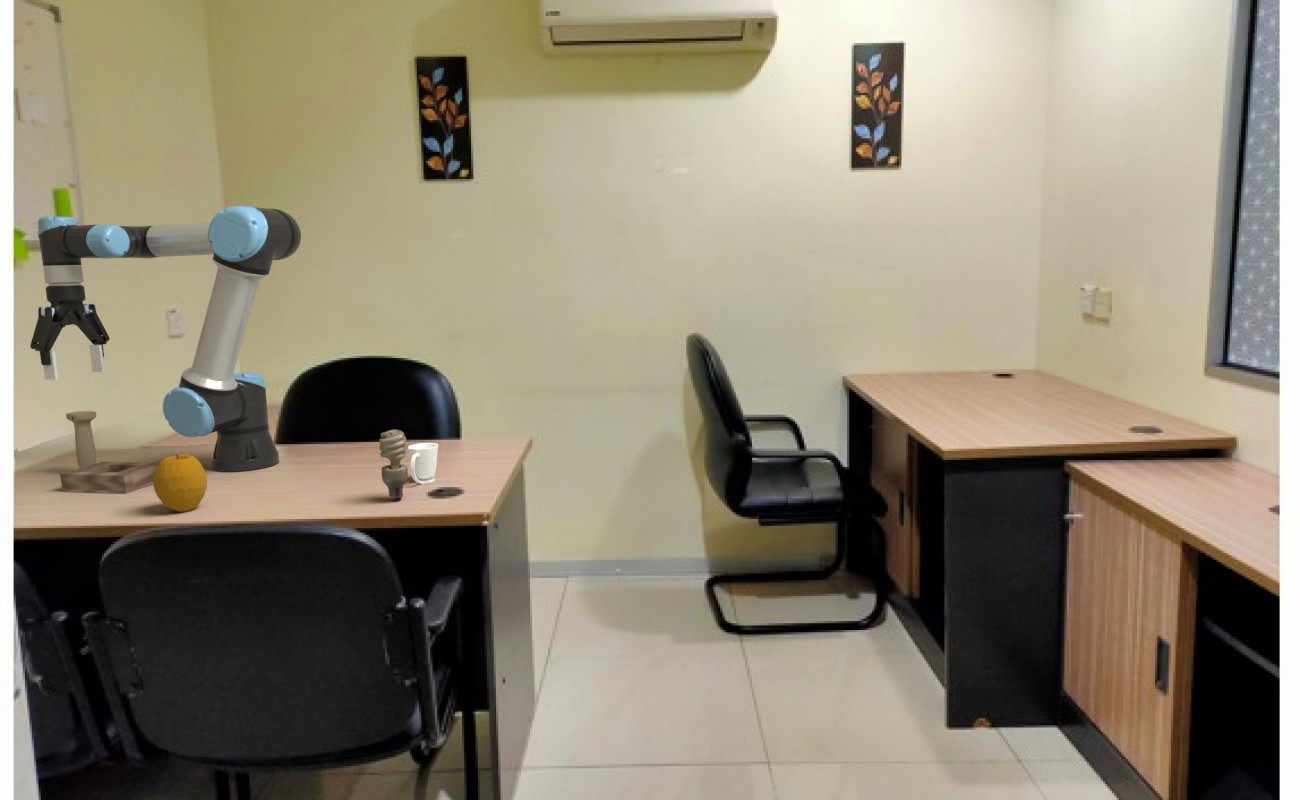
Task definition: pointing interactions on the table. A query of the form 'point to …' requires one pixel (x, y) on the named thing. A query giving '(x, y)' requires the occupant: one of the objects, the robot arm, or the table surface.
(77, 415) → the handle
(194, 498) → the apple
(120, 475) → the slot block
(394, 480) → the light bulb
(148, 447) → the table surface
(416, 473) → the cup
